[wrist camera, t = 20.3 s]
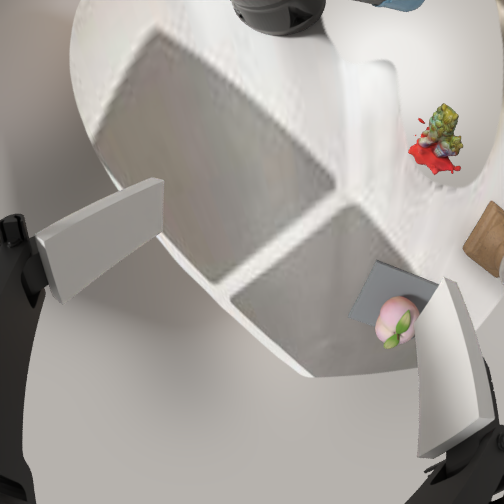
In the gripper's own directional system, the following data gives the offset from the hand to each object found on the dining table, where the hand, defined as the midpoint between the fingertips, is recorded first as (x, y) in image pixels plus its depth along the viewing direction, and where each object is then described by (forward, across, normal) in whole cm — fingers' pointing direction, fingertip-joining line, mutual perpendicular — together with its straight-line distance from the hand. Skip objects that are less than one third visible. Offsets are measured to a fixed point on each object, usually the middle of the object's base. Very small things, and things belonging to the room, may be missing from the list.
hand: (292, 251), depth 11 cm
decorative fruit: (+34, -20, +23) cm, 46 cm away
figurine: (+35, -13, -7) cm, 38 cm away
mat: (+35, -20, +23) cm, 46 cm away
